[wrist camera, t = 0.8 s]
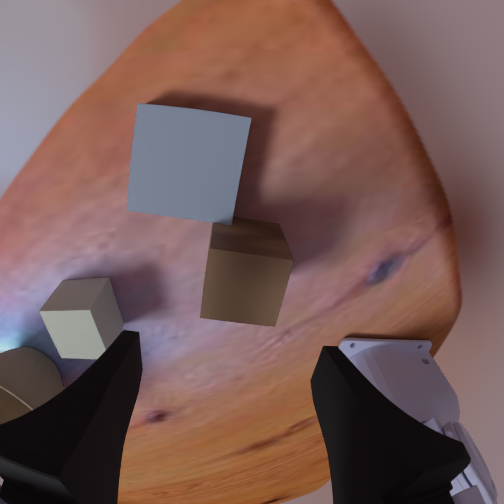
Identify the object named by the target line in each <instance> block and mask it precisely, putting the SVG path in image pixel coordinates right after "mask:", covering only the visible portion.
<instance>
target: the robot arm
mask: <svg viewBox="0 0 504 504" xmlns="http://www.w3.org/2000/svg"><path fill="white" fill-rule="evenodd" d="M352 343H354V344H352ZM351 344H352V345H351ZM431 347H432V343H431V341H430V340H393V339H366V338H345V339H343V340H342V341H341V342H340V345H339V347H337V346H323V348H322V351H321V354H320V356H319V359H318V362H317V365H316V367H315V370H314V373H313V375H312V378H311V389H312V396H313V402H314V406H315V410H316V413H317V417H318V420H319V424H320V427H321V431H322V434H323V438H324V441H325V445H326V449H327V453H328V460H329V466H330V473H331V482H332V491H333V504H497V500H496V499H497V496H498V495H497V490H496V487H495V484H494V482H493V480H492V478H491V475H490V473H489V470H488V468H487V466H486V464H485V461H484V459H483V457H482V456H481V454H480V452H479V450H478V448H477V446H476V445H475V443H474V441H473V440H472V438H471V436H470V435H469V433H468V432H467V430H466V429H465V428H464V426H463V425H462V424H461V423H459V422H458V421H459V414H460V410H459V402H458V398H457V395H456V393H455V392H454V390H453V388H452V387H451V385H450V383H449V382H448V380H447V379H446V377H445V376H444V374H443V373H442V371H441V370H440V368H439V366H438V365H437V363H436V362H435V360H434V359H433V357H432V356H431V354H430V353H429V350H430V348H431ZM142 370H143V368H142V359H141V349H140V337H139V332H134V331H127V330H124V331H122V332H121V333H120V334H119V336H118V337H117V338H116V339H115V340H114V341H113V343H112V344H111V345H110V346H109V347H108V348H107V349H106V350H105V352H104V353H103V354H102V355H101V356H100V357H99V358H98V359H97V360H96V361H95V362H94V363H93V364H92V365H91V366H90V367H89V368H88V369H87V370H86V371H85V372H84V373H83V374H82V375H81V376H80V377H79V378H77V379H76V380H75V381H74V382H73V383H72V384H70V385H69V386H68V387H67V388H65V389H64V390H63V391H62V392H60V393H59V394H57V395H56V396H54V397H53V398H52V399H50V400H49V401H47V402H46V403H44V404H42V405H41V406H39V407H37V408H35V409H34V410H32V411H30V412H28V413H26V414H24V415H22V416H20V417H18V418H15V419H13V420H10V421H8V422H5V423H3V424H0V476H1V478H2V479H3V480H4V481H3V484H2V486H1V485H0V504H117V499H118V486H119V476H120V467H121V460H122V453H123V446H124V441H125V437H126V433H127V429H128V426H129V423H130V419H131V416H132V412H133V409H134V406H135V402H136V399H137V395H138V392H139V387H140V381H141V375H142Z"/></svg>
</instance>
